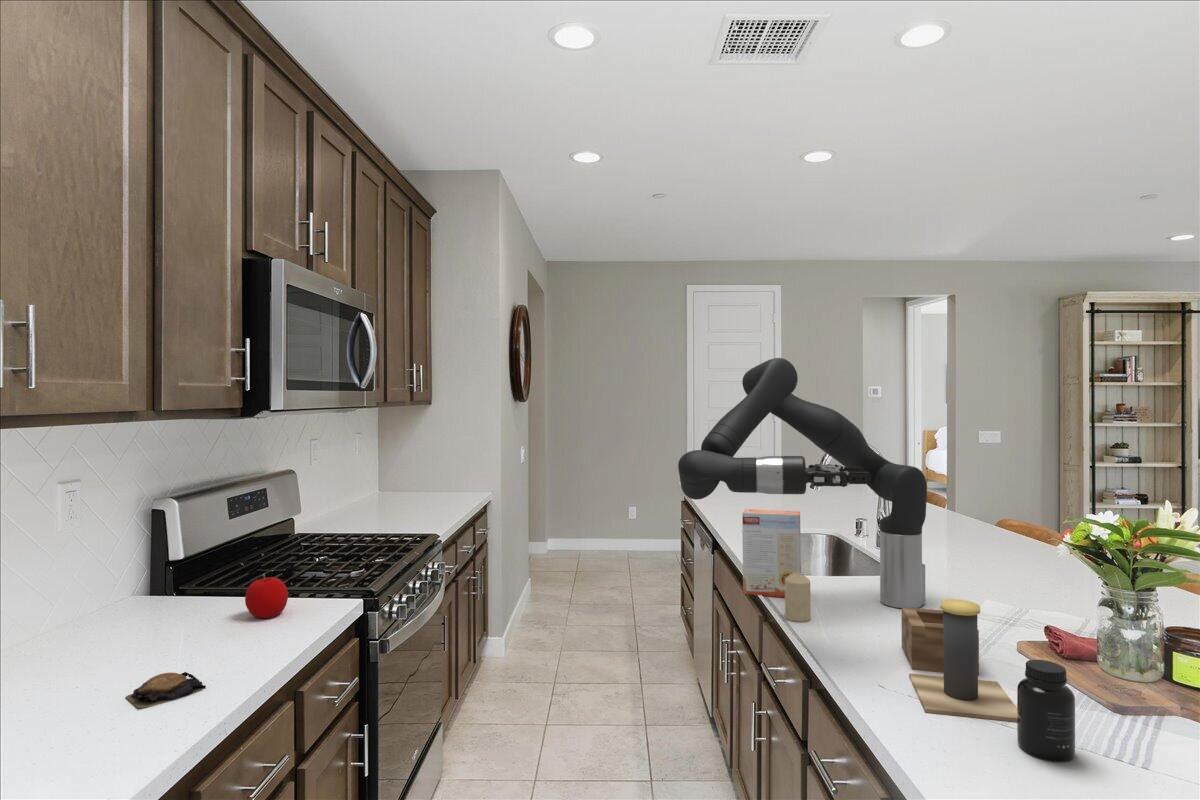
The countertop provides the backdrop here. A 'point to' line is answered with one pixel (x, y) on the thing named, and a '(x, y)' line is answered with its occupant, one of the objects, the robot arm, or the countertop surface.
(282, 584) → the fruit
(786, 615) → the candle
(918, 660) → the socket block
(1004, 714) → the cork mat
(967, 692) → the plug
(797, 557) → the cracker box
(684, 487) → the robot arm
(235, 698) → the countertop surface
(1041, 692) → the supplement bottle
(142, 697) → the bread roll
